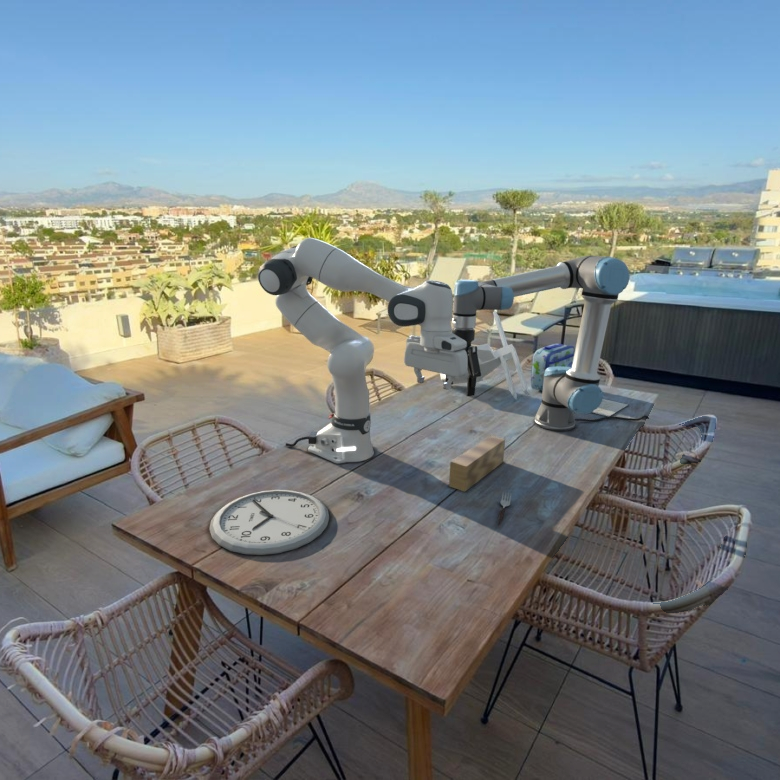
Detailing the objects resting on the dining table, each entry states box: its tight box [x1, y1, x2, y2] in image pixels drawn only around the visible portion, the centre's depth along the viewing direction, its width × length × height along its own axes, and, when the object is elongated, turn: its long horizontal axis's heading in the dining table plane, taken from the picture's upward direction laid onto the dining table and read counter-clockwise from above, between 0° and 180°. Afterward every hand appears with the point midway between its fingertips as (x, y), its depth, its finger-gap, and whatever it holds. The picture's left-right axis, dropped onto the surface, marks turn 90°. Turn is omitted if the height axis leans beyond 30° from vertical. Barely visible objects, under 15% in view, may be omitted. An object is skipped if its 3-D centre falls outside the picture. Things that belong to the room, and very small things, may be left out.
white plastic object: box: [439, 310, 531, 400], centre depth 245 cm, size 37×45×31 cm
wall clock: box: [209, 489, 330, 556], centre depth 135 cm, size 30×2×30 cm
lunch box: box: [530, 343, 575, 391], centre depth 249 cm, size 26×11×21 cm, turn 134°
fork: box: [497, 491, 512, 526], centre depth 140 cm, size 3×16×2 cm, turn 160°
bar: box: [448, 435, 506, 493], centre depth 162 cm, size 26×5×8 cm, turn 143°
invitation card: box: [591, 398, 629, 417], centre depth 226 cm, size 21×1×15 cm
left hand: (433, 385), depth 153 cm, fingers open, 8 cm apart
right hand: (459, 390), depth 177 cm, fingers open, 13 cm apart
